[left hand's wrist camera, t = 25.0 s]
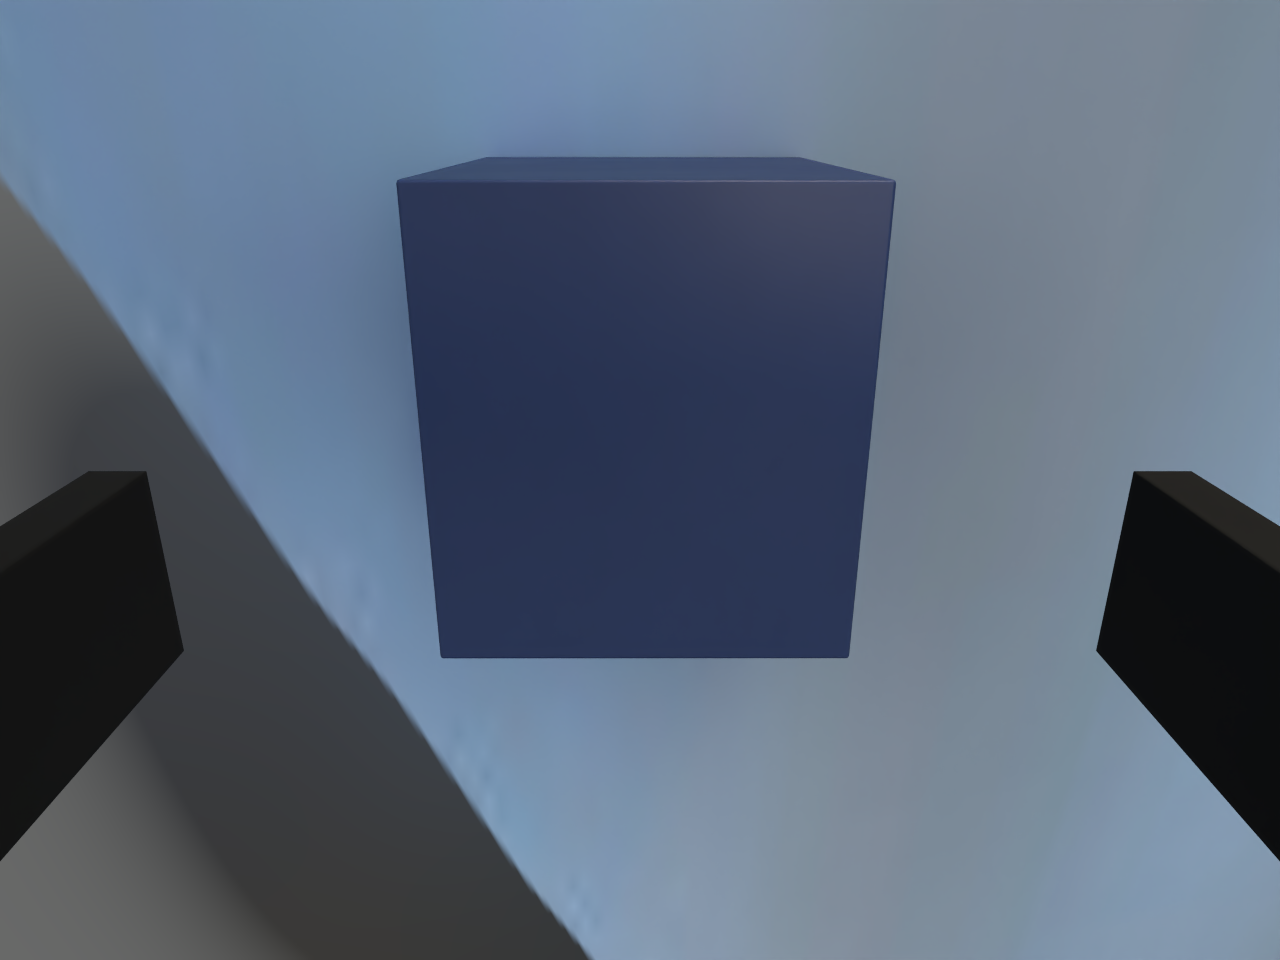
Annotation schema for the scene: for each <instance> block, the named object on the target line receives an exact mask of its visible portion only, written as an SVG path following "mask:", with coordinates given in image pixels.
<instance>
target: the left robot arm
mask: <svg viewBox="0 0 1280 960" xmlns="http://www.w3.org/2000/svg"><path fill="white" fill-rule="evenodd" d="M183 651H184V649H183V645H182V640H181V635H180V630H179V625H178V621H177V616H176V611H175V606H174V602H173V597H172V592H171V588H170V582H169V578H168V573H167V568H166V564H165V559H164V554H163V549H162V544H161V540H160V535H159V530H158V525H157V521H156V516H155V511H154V506H153V501H152V497H151V492H150V487H149V482H148V478H147V473H146V471H88V472H87V473H85V474H84V475H82V476H80V477H79V478H77V479H76V480H74V481H72V482H71V483H69V484H68V485H66V486H64V487H63V488H61V489H59V490H58V491H56V492H55V493H53V494H51V495H50V496H48V497H47V498H45V499H43V500H42V501H40V502H39V503H37V504H35V505H34V506H32V507H31V508H29V509H27V510H26V511H24V512H23V513H21V514H19V515H18V516H16V517H15V518H13V519H11V520H10V521H8V522H7V523H5V524H3V525H2V526H0V861H1V860H2V859H3V857H4V856H5V855H6V854H7V853H8V852H9V851H10V849H11V848H12V847H13V846H14V845H15V844H16V843H17V841H18V840H19V839H20V838H21V837H22V836H23V834H24V833H25V832H26V831H27V830H28V829H29V828H30V826H31V825H32V824H33V823H34V822H35V821H36V820H37V818H38V817H39V816H40V815H41V814H42V813H43V812H44V810H45V809H46V808H47V807H48V806H49V805H50V804H51V802H52V801H53V800H54V799H55V798H56V797H57V795H58V794H59V793H60V792H61V791H62V790H63V789H64V787H65V786H66V785H67V784H68V783H69V782H70V781H71V779H72V778H73V777H74V776H75V775H76V774H77V773H78V771H79V770H80V769H81V768H82V767H83V766H84V765H85V763H86V762H87V761H88V760H89V759H90V758H91V757H92V755H93V754H94V753H95V752H96V751H97V750H98V749H99V747H100V746H101V745H102V744H103V743H104V742H105V740H106V739H107V738H108V737H109V736H110V735H111V733H112V732H113V731H114V730H115V729H116V728H117V727H118V726H119V724H120V723H121V722H122V721H123V720H124V719H125V718H126V716H127V715H128V714H129V713H130V712H131V711H132V709H133V708H134V707H135V706H136V705H137V704H138V703H139V702H140V700H141V699H142V698H143V697H144V696H145V695H146V693H147V692H148V691H149V690H150V689H151V688H152V687H153V685H154V684H155V683H156V682H157V681H158V680H159V679H160V677H161V676H162V675H163V674H164V673H165V672H166V671H167V669H168V668H169V667H170V666H171V665H172V664H173V663H174V661H175V660H176V659H177V658H178V657H179V656H180V654H181V653H182V652H183ZM1096 651H1097V652H1098V653H1099V655H1100V656H1101V657H1102V658H1103V659H1104V660H1105V661H1106V663H1107V664H1108V665H1109V666H1110V667H1111V668H1112V669H1113V671H1114V672H1115V673H1116V674H1117V675H1118V676H1119V677H1120V679H1121V680H1122V681H1123V682H1124V683H1125V684H1126V685H1127V687H1128V688H1129V689H1130V690H1131V691H1132V692H1133V693H1134V695H1135V696H1136V697H1137V698H1138V699H1139V700H1140V702H1141V703H1142V704H1143V705H1144V706H1145V707H1146V708H1147V710H1148V711H1149V712H1150V713H1151V714H1152V715H1153V716H1154V718H1155V719H1156V720H1157V721H1158V722H1159V723H1160V724H1161V726H1162V727H1163V728H1164V729H1165V730H1166V731H1167V732H1168V734H1169V735H1170V736H1171V737H1172V738H1173V739H1174V740H1175V742H1176V743H1177V744H1178V745H1179V746H1180V747H1181V749H1182V750H1183V751H1184V752H1185V753H1186V754H1187V755H1188V757H1189V758H1190V759H1191V760H1192V761H1193V762H1194V763H1195V765H1196V766H1197V767H1198V768H1199V769H1200V770H1201V771H1202V773H1203V774H1204V775H1205V776H1206V777H1207V778H1208V779H1209V781H1210V782H1211V783H1212V784H1213V785H1214V786H1215V787H1216V789H1217V790H1218V791H1219V792H1220V793H1221V794H1222V796H1223V797H1224V798H1225V799H1226V800H1227V801H1228V802H1229V804H1230V805H1231V806H1232V807H1233V808H1234V809H1235V810H1236V812H1237V813H1238V814H1239V815H1240V816H1241V817H1242V818H1243V820H1244V821H1245V822H1246V823H1247V824H1248V825H1249V826H1250V828H1251V829H1252V830H1253V831H1254V832H1255V833H1256V834H1257V836H1258V837H1259V838H1260V839H1261V840H1262V841H1263V843H1264V844H1265V845H1266V846H1267V847H1268V848H1269V849H1270V851H1271V852H1272V853H1273V854H1274V855H1275V856H1276V857H1277V859H1278V860H1279V861H1280V526H1278V525H1277V524H1275V523H1273V522H1272V521H1270V520H1269V519H1267V518H1265V517H1264V516H1262V515H1261V514H1259V513H1257V512H1256V511H1254V510H1253V509H1251V508H1249V507H1248V506H1246V505H1245V504H1243V503H1241V502H1240V501H1238V500H1237V499H1235V498H1233V497H1232V496H1230V495H1229V494H1227V493H1225V492H1224V491H1222V490H1221V489H1219V488H1217V487H1216V486H1214V485H1212V484H1211V483H1209V482H1208V481H1206V480H1204V479H1203V478H1201V477H1200V476H1198V475H1196V474H1195V473H1193V472H1192V471H1134V473H1133V478H1132V482H1131V487H1130V492H1129V497H1128V501H1127V506H1126V511H1125V516H1124V520H1123V525H1122V530H1121V535H1120V540H1119V544H1118V549H1117V554H1116V559H1115V563H1114V568H1113V573H1112V578H1111V582H1110V587H1109V592H1108V597H1107V602H1106V606H1105V611H1104V616H1103V621H1102V625H1101V630H1100V635H1099V640H1098V645H1097V649H1096Z"/></svg>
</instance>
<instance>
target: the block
mask: <svg viewBox="0 0 1280 960" xmlns="http://www.w3.org/2000/svg"><path fill="white" fill-rule="evenodd" d="M396 184H397V195H398V205H399V216H400V227H401V237H402V248H403V259H404V269H405V280H406V291H407V301H408V312H409V323H410V333H411V344H412V355H413V365H414V376H415V387H416V397H417V408H418V419H419V429H420V440H421V451H422V461H423V472H424V483H425V493H426V504H427V515H428V525H429V536H430V547H431V557H432V568H433V579H434V589H435V600H436V611H437V622H438V632H439V643H440V654H441V657H442V658H848V656H849V650H850V640H851V630H852V620H853V610H854V600H855V590H856V580H857V570H858V559H859V549H860V539H861V529H862V519H863V509H864V499H865V489H866V479H867V469H868V459H869V449H870V439H871V429H872V419H873V409H874V399H875V389H876V378H877V368H878V358H879V348H880V338H881V328H882V318H883V308H884V298H885V288H886V278H887V268H888V258H889V248H890V238H891V228H892V218H893V208H894V198H895V187H896V182H895V181H894V180H892V179H888V178H884V177H880V176H875V175H871V174H867V173H863V172H859V171H854V170H850V169H846V168H842V167H838V166H834V165H829V164H825V163H821V162H817V161H813V160H808V159H804V158H712V157H486V158H482V159H478V160H474V161H470V162H466V163H462V164H458V165H455V166H451V167H447V168H443V169H439V170H435V171H431V172H427V173H423V174H419V175H415V176H411V177H407V178H403V179H400V180H397V183H396Z"/></svg>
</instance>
